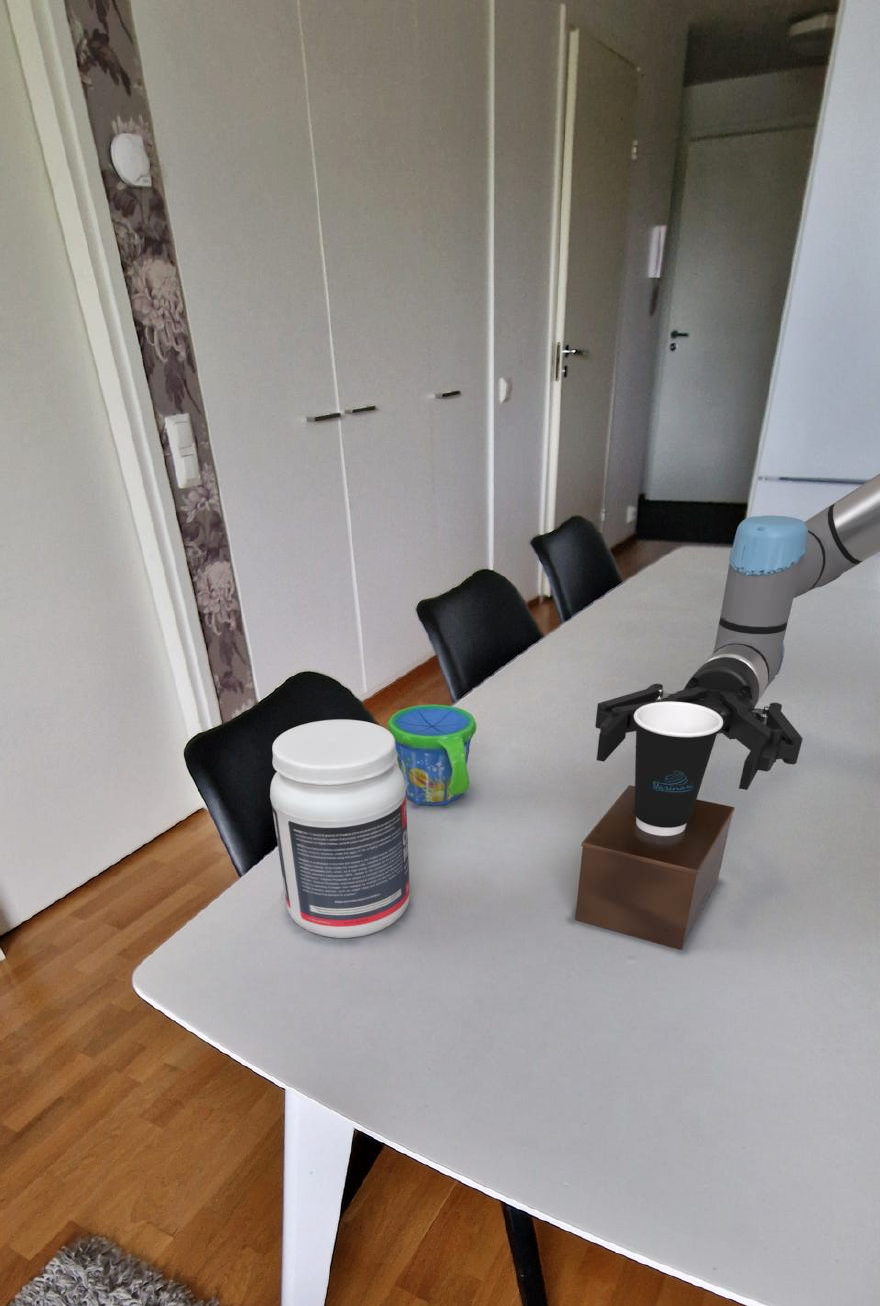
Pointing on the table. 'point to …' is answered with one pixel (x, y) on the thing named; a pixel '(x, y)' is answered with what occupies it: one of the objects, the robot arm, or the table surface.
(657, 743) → the dixie cup
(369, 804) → the supplement tub
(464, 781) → the snack cup
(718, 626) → the robot arm
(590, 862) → the brown box
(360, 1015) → the table surface
